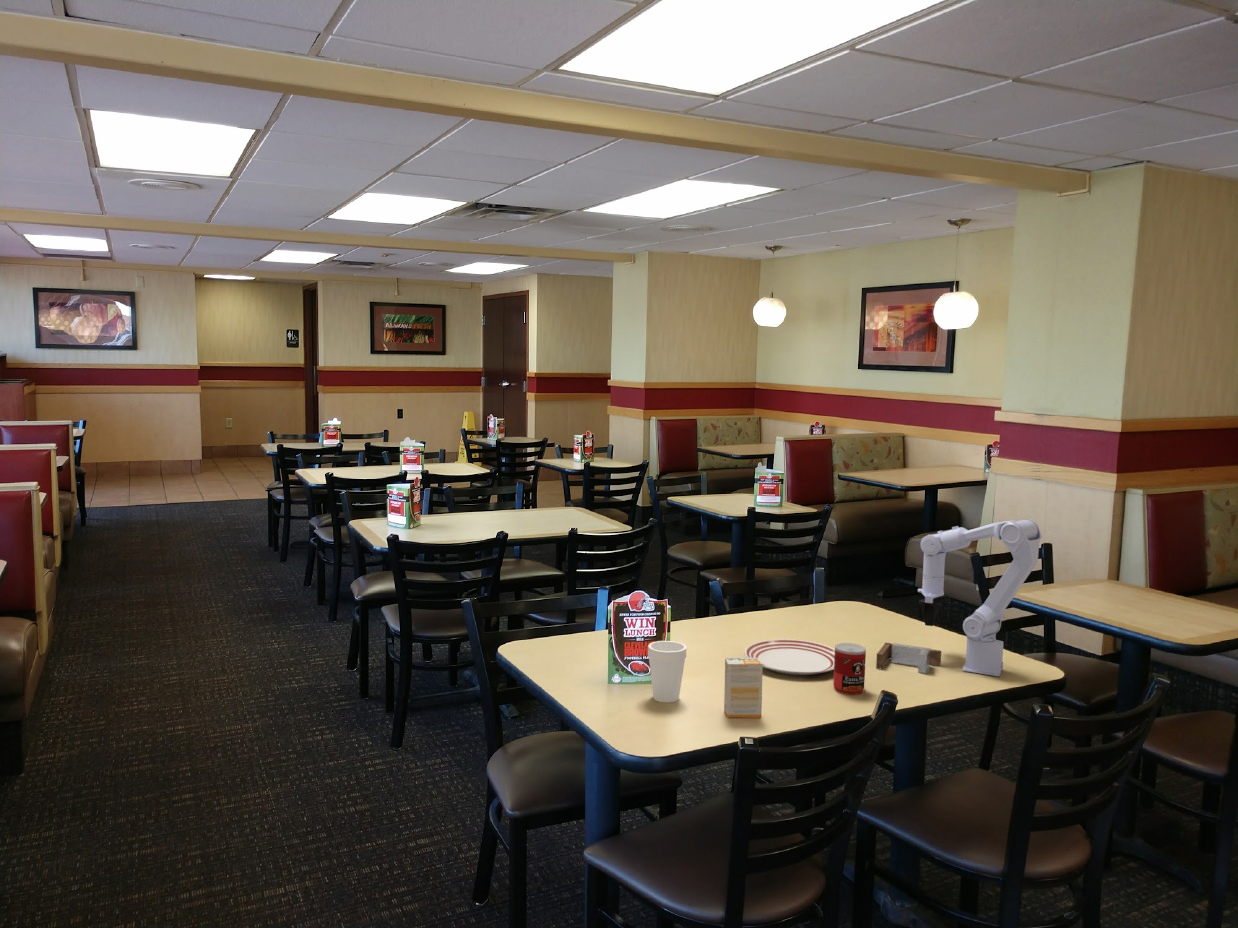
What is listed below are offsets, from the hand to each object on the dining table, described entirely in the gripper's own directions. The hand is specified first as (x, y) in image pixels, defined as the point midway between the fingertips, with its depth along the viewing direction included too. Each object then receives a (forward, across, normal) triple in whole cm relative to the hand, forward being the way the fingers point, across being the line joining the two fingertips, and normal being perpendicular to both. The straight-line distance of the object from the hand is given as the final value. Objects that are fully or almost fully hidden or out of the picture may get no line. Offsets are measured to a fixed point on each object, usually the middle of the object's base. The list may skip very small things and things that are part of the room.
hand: (931, 622), depth 256 cm
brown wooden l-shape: (+10, +13, -4) cm, 17 cm away
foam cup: (+10, +69, -52) cm, 87 cm away
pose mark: (+10, +14, -3) cm, 17 cm away
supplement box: (+10, +70, -32) cm, 78 cm away
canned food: (+10, +40, -14) cm, 44 cm away
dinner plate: (+10, +27, -32) cm, 43 cm away
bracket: (+10, +13, -3) cm, 17 cm away
